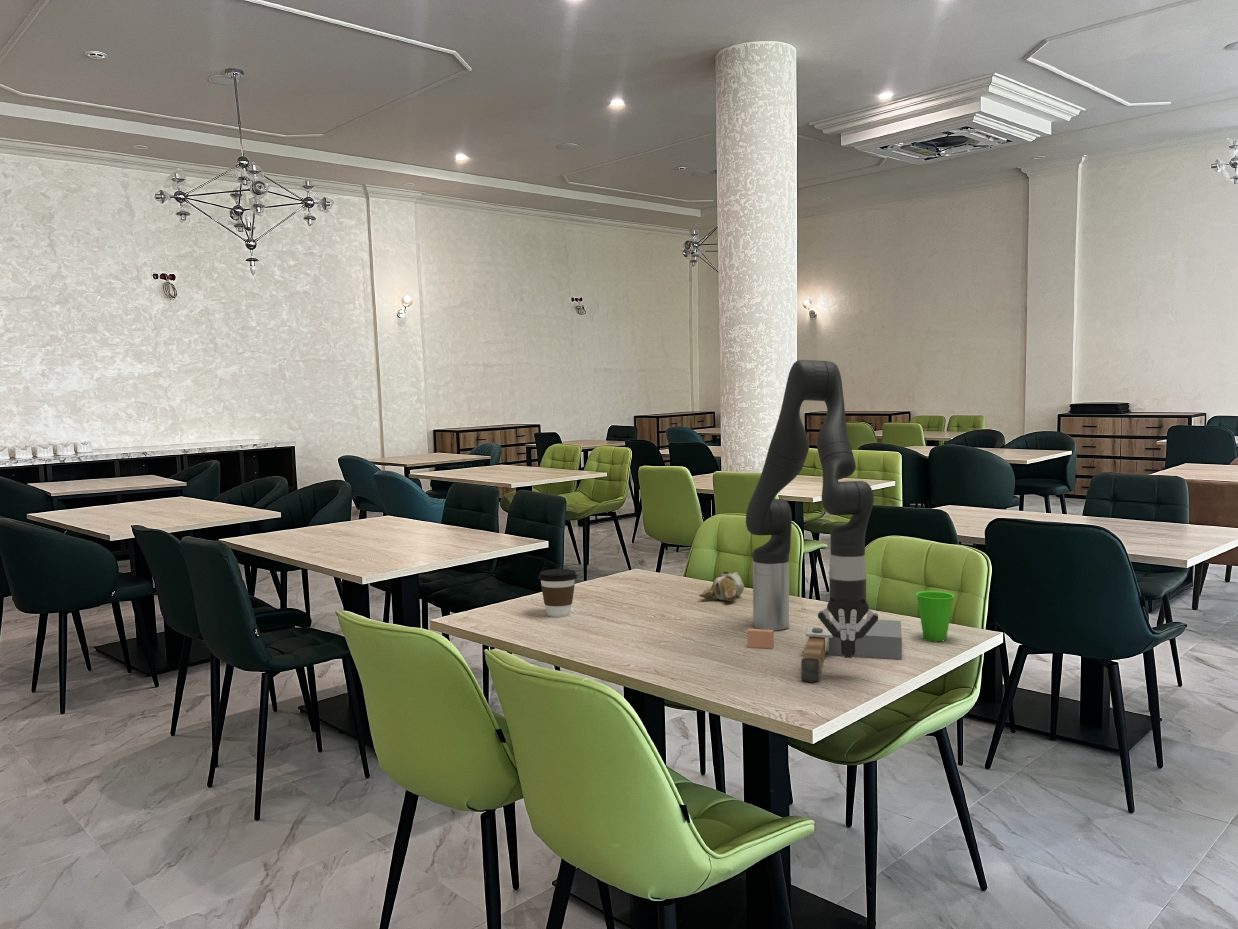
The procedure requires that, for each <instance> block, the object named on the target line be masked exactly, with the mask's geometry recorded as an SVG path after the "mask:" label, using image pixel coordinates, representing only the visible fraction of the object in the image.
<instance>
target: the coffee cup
mask: <svg viewBox="0 0 1238 929" xmlns="http://www.w3.org/2000/svg"><path fill="white" fill-rule="evenodd" d="M577 578H578V574H576V571H575V570H573V569H569V568H553V569H552V568H551V569H544V570H541V571H540V572H539V574H538V578H537V579H538V580H540V583H541V585H540V587H541V591H542V599H543V604H544V606H545V611H546V614H547V616H548V617H552V618H563V617H568V616H570V614H571V611H572V604H573V600H574V592H575V579H577Z"/></svg>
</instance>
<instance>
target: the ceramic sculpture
mask: <svg viewBox="0 0 1238 929" xmlns="http://www.w3.org/2000/svg"><path fill="white" fill-rule="evenodd" d="M744 589H745V584H744V582H743V579H742V577H741V576H740V575H739V573H738V572H737V571H735V572H729V571H728V572H727V571H723V572H722V574H720V575H719V576H717V577H716V578H714V580H713V582H712V585H711V587H707V588H706V589H704V591H703V592H702V593H701V594H699V597H700V598H704V599H708V600H709V599H713V598H714V597H715V599H717V600H718V599H719V601H723V600H727V601H728V602H733V601H734V600H735V599H736V598H737V597H740V596H742V594H743V592H744ZM736 596H737V597H736Z"/></svg>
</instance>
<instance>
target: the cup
mask: <svg viewBox="0 0 1238 929" xmlns="http://www.w3.org/2000/svg"><path fill="white" fill-rule="evenodd" d="M915 596H916V597H917V604H918V611H919V616H920V623H921V629H922V637H923V638H924V640H925V639H926V640H925V641H928V640H930V641H929V642H934V641H941V642H944V641H943V640H945V641H946V640H947V638H948V637H947V636H948V630H949V625H950V620H951V614H952V608H953V602H954V599H955V598H956V596H955V594H954V593H951V592H949V591H948V592H947V591H943V590H942V591H940V590H922V591H917V592H916V593H915Z"/></svg>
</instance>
